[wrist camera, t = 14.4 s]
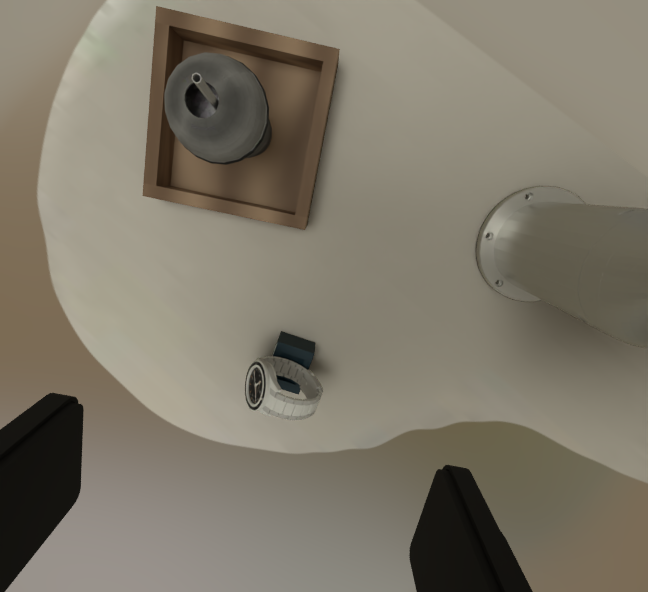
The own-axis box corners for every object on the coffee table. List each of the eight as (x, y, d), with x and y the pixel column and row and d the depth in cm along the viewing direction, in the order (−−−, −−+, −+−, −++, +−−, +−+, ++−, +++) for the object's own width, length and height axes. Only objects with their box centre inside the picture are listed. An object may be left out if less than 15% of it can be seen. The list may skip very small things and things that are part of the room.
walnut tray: (337, 64, 38) (339, 49, 33) (307, 225, 42) (304, 229, 38) (176, 27, 37) (156, 6, 32) (161, 194, 41) (142, 195, 37)
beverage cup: (208, 96, 38) (84, 2, 18) (281, 89, 37) (234, -12, 18) (219, 173, 40) (118, 161, 20) (289, 167, 39) (253, 150, 20)
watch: (265, 325, 45) (246, 368, 35) (328, 347, 46) (329, 395, 36) (251, 366, 47) (229, 418, 36) (313, 386, 48) (309, 443, 37)
